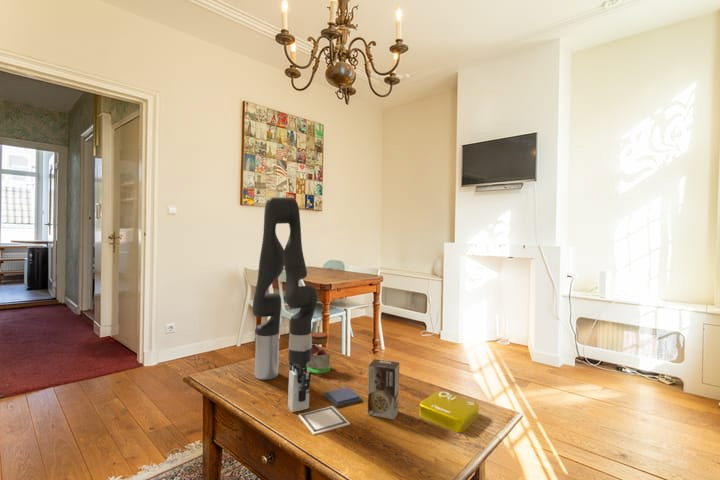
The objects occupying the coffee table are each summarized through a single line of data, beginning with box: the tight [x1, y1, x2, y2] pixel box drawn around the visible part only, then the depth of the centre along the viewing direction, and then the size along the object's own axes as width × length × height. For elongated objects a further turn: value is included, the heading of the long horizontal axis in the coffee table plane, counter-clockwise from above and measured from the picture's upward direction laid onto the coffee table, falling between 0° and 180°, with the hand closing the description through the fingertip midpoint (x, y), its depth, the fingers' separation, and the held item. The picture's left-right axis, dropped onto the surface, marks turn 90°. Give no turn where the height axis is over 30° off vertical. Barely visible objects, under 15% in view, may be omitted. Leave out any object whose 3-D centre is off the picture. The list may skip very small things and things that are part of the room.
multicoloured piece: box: [306, 331, 331, 375], centre depth 147 cm, size 12×13×15 cm
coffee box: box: [367, 358, 400, 420], centre depth 111 cm, size 9×6×16 cm
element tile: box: [418, 390, 480, 433], centre depth 111 cm, size 15×15×5 cm
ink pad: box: [323, 387, 363, 409], centre depth 120 cm, size 10×10×2 cm
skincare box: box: [287, 370, 311, 413], centre depth 113 cm, size 6×4×12 cm
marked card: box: [297, 405, 351, 436], centre depth 106 cm, size 12×12×1 cm
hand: (298, 397), depth 113 cm, fingers open, 5 cm apart
